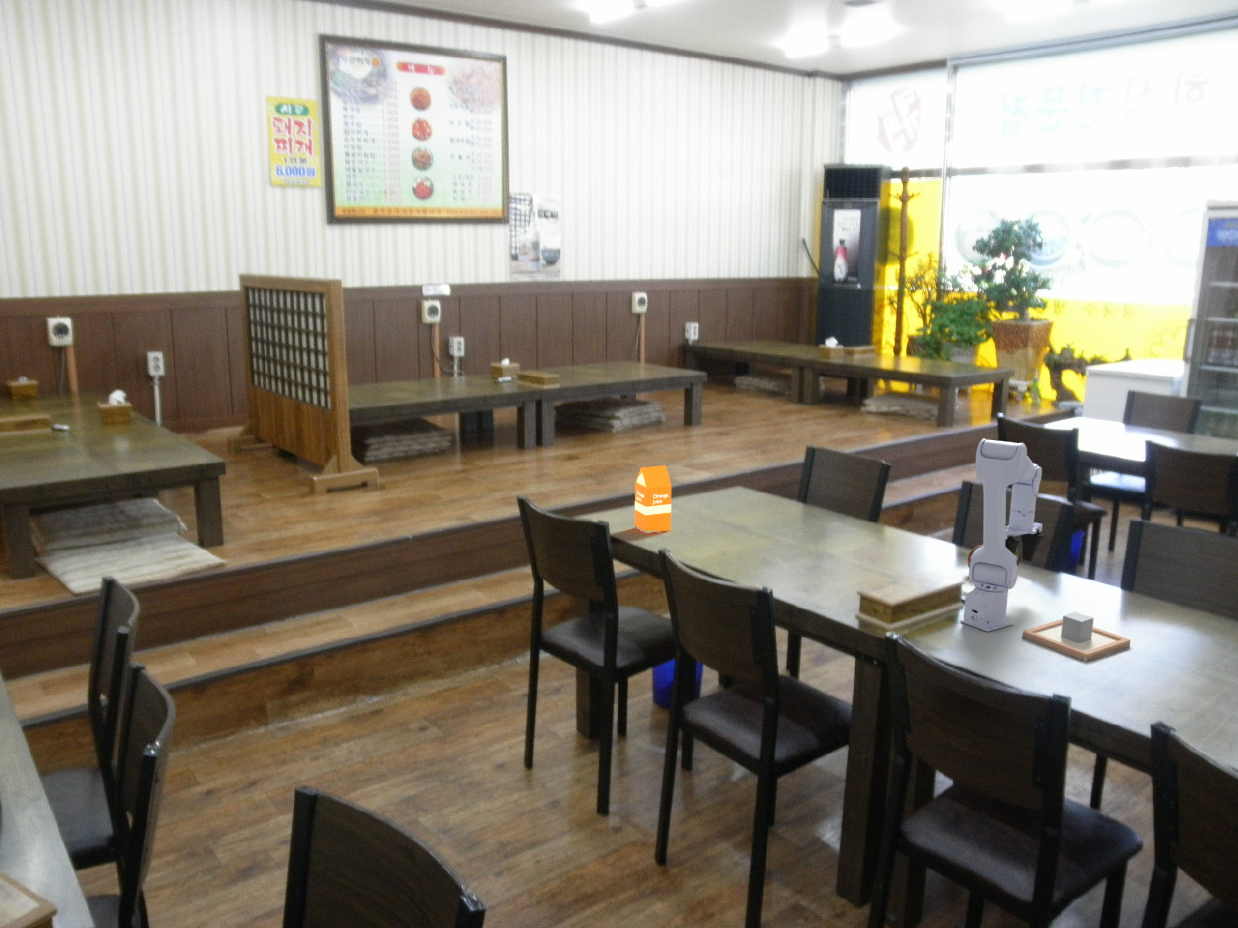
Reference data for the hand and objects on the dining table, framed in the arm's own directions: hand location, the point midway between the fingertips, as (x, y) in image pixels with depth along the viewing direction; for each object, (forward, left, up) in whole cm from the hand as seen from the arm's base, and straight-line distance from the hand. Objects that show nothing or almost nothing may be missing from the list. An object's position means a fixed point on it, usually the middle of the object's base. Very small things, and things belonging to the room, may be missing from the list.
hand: (1017, 562), depth 259 cm
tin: (+12, +16, -10) cm, 22 cm away
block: (-13, -26, -8) cm, 30 cm away
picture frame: (-13, -26, -9) cm, 31 cm away
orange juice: (-43, +99, -10) cm, 108 cm away
